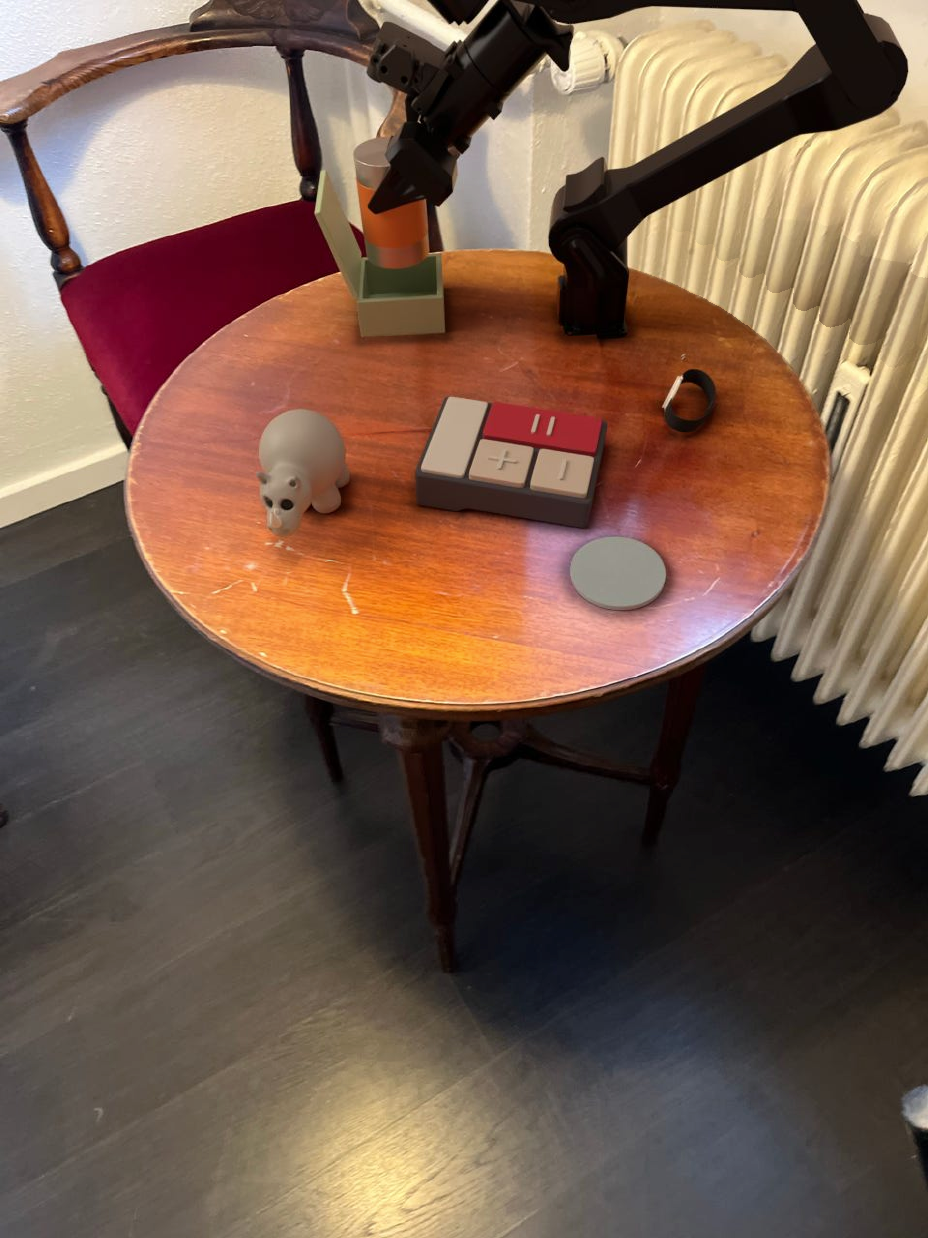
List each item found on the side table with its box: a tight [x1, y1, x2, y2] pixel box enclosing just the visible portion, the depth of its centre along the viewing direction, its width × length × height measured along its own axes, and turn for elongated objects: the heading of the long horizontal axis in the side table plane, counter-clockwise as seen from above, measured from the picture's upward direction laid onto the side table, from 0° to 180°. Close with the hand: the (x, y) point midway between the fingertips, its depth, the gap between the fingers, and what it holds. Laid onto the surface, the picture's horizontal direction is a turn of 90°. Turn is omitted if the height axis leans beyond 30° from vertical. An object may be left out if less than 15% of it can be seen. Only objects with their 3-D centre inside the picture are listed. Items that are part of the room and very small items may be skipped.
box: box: [355, 252, 446, 338], centre depth 95 cm, size 9×9×5 cm
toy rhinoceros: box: [255, 408, 351, 538], centre depth 74 cm, size 7×12×8 cm, turn 168°
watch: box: [661, 368, 717, 433], centre depth 83 cm, size 8×5×4 cm, turn 156°
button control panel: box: [414, 396, 608, 529], centre depth 78 cm, size 11×4×15 cm
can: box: [352, 135, 430, 269], centre depth 87 cm, size 6×6×10 cm
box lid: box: [314, 169, 362, 300], centre depth 89 cm, size 9×9×1 cm
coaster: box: [569, 536, 667, 611], centre depth 71 cm, size 8×8×1 cm
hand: (377, 192), depth 86 cm, fingers closed on can, 6 cm apart
